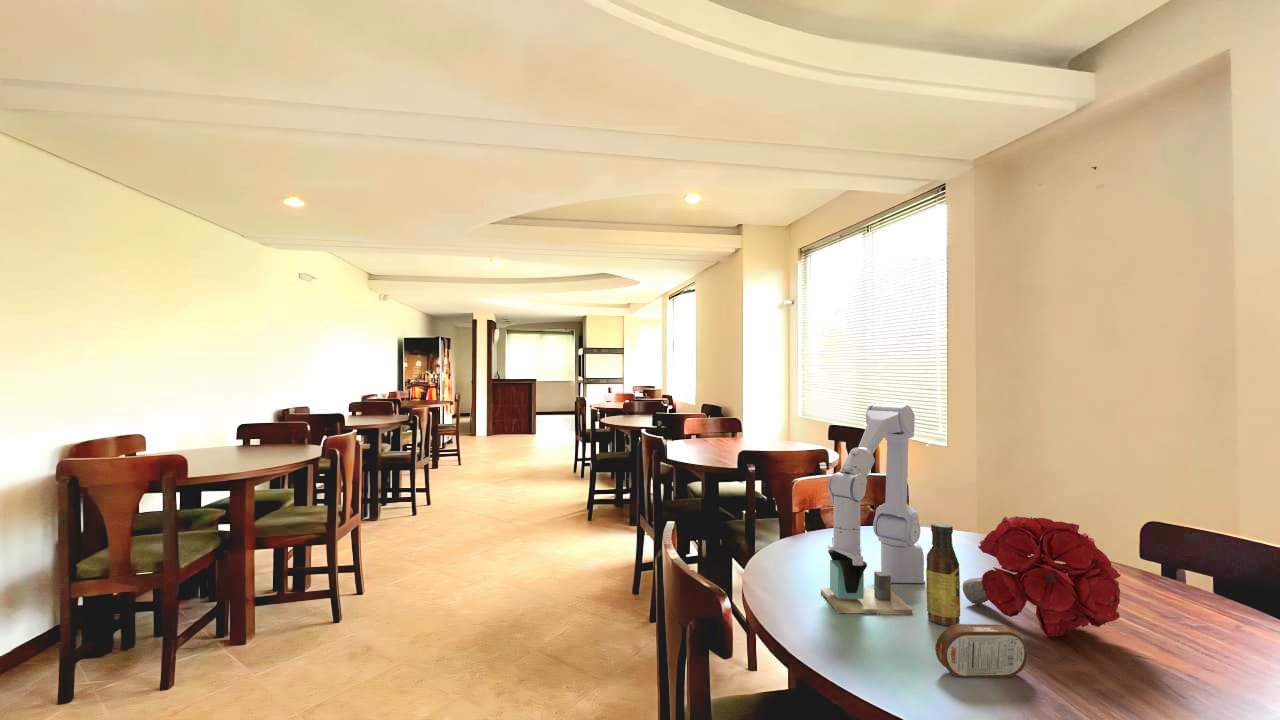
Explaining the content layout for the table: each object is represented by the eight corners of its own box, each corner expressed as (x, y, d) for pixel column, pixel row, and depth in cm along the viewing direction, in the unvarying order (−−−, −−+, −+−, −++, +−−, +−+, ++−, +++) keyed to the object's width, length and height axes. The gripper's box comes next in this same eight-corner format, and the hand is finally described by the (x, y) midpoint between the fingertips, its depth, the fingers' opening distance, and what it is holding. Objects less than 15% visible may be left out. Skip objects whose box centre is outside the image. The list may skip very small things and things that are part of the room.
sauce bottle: (964, 628, 119) (964, 530, 119) (931, 625, 120) (931, 528, 120) (954, 615, 125) (954, 522, 125) (922, 612, 126) (922, 520, 127)
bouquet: (957, 652, 123) (1098, 630, 100) (915, 538, 134) (1033, 495, 111) (1024, 641, 131) (1168, 618, 108) (979, 535, 143) (1101, 494, 120)
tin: (1018, 670, 102) (1018, 621, 103) (1031, 680, 99) (1031, 629, 99) (934, 671, 102) (934, 622, 102) (944, 681, 99) (944, 630, 99)
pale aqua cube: (854, 589, 134) (854, 560, 135) (863, 598, 129) (863, 568, 129) (830, 589, 135) (830, 560, 135) (838, 598, 129) (838, 568, 129)
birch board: (889, 592, 138) (889, 565, 138) (912, 614, 126) (912, 583, 126) (820, 592, 138) (820, 564, 138) (837, 613, 126) (837, 583, 126)
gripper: (819, 518, 139) (819, 575, 139) (839, 535, 125) (839, 599, 125) (849, 518, 139) (849, 576, 139) (872, 535, 125) (872, 600, 124)
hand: (846, 587), depth 132 cm, fingers closed on pale aqua cube, 5 cm apart
